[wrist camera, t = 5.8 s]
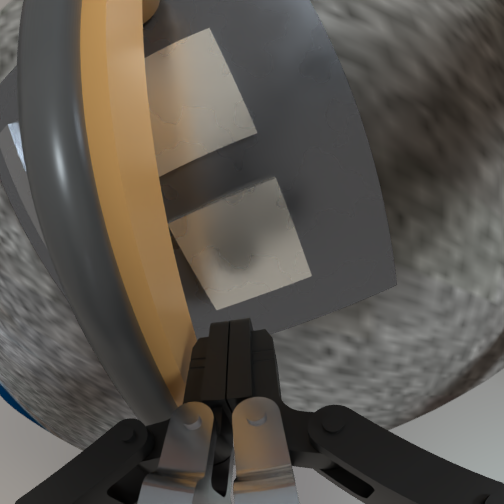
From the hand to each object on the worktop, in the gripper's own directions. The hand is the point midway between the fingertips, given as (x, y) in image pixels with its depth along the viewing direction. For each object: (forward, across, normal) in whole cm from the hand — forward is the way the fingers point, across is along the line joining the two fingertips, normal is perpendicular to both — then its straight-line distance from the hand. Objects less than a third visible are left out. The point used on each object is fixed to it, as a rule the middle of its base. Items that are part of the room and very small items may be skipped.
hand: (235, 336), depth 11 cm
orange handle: (+3, +3, -7) cm, 8 cm away
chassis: (+7, +2, -6) cm, 9 cm away
